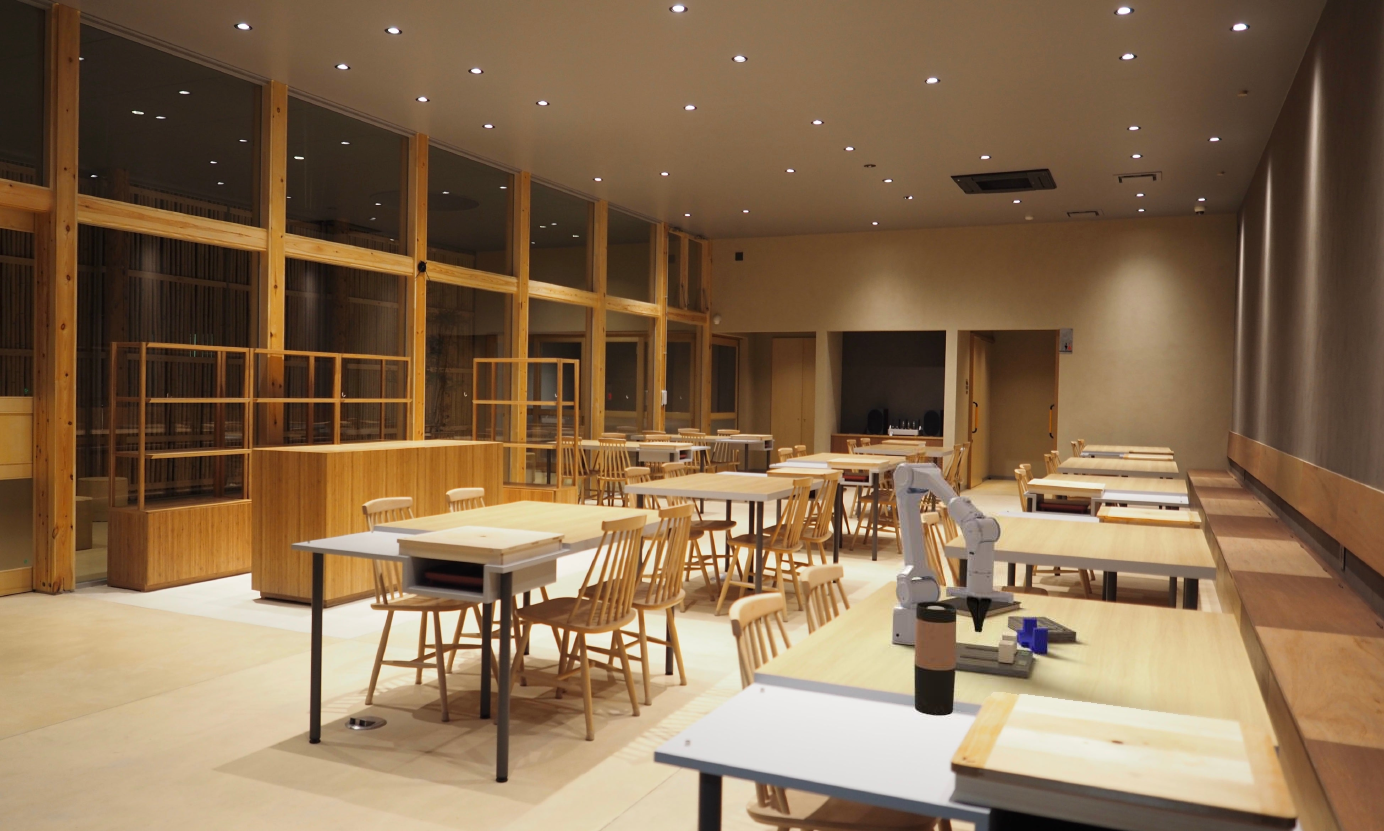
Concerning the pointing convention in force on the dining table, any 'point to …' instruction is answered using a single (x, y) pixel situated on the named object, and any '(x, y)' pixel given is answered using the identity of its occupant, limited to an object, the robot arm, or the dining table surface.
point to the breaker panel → (991, 660)
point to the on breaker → (1010, 638)
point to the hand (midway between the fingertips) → (978, 631)
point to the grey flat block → (1054, 629)
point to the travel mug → (935, 658)
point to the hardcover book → (994, 607)
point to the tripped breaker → (1006, 651)
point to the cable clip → (1033, 636)
